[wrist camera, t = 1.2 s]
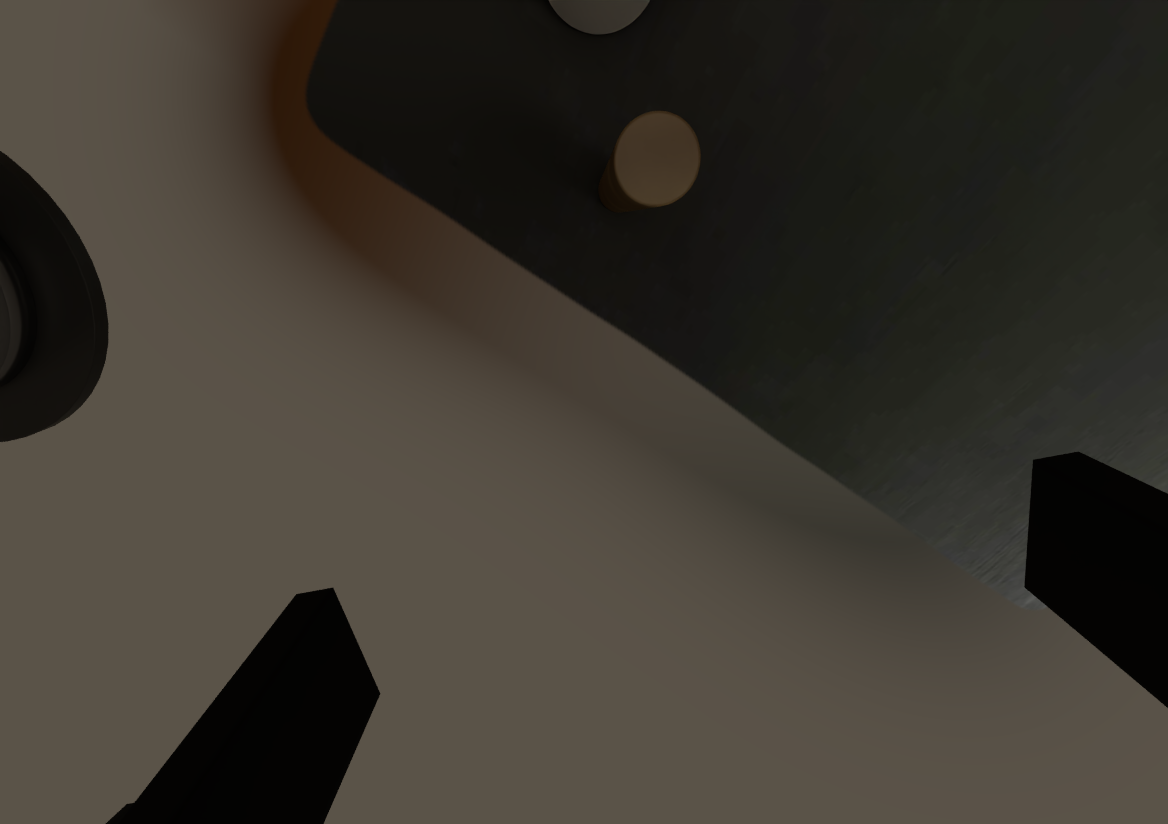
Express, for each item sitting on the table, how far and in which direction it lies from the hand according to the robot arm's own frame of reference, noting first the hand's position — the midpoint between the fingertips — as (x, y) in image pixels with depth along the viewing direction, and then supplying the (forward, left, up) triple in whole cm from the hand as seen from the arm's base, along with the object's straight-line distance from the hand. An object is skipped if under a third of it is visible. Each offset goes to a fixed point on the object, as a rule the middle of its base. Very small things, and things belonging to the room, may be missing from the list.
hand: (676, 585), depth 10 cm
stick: (-7, +4, -27) cm, 28 cm away
